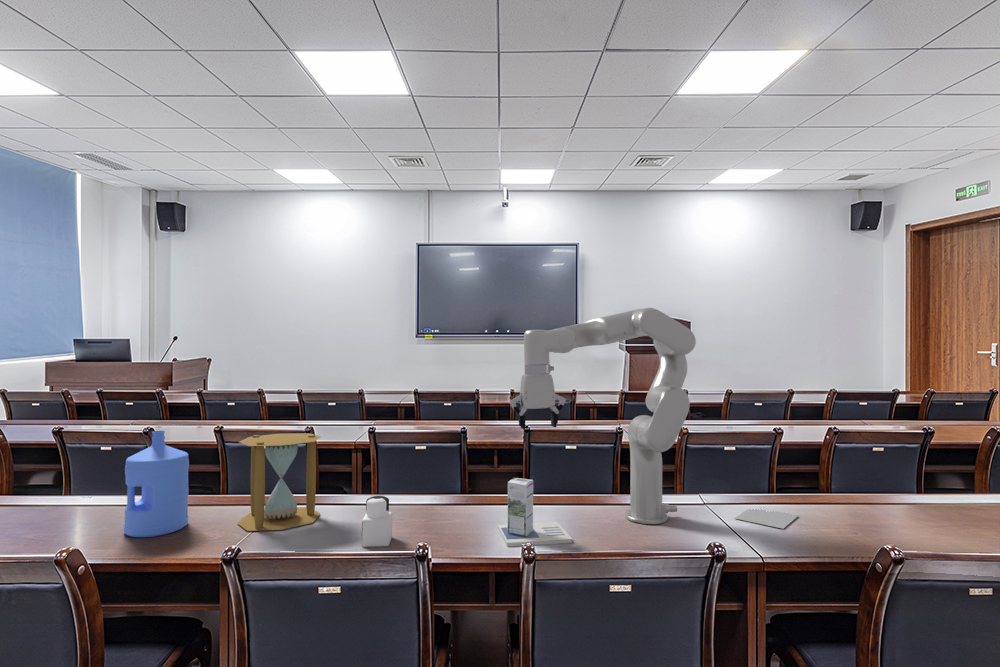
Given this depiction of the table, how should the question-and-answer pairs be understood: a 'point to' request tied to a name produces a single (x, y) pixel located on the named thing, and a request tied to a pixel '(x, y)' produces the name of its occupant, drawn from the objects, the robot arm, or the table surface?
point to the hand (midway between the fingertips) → (538, 427)
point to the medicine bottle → (377, 523)
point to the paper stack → (767, 517)
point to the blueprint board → (537, 535)
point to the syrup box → (520, 506)
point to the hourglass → (281, 501)
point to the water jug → (157, 490)
